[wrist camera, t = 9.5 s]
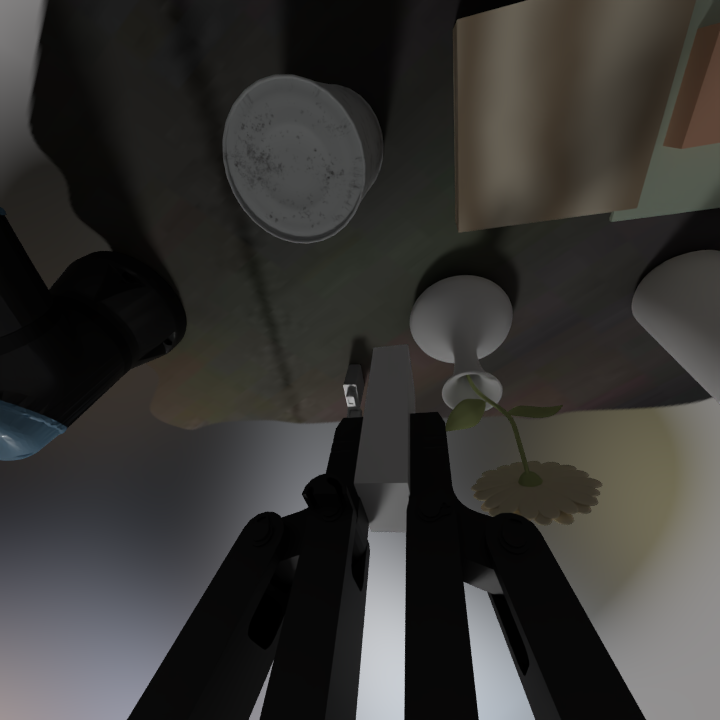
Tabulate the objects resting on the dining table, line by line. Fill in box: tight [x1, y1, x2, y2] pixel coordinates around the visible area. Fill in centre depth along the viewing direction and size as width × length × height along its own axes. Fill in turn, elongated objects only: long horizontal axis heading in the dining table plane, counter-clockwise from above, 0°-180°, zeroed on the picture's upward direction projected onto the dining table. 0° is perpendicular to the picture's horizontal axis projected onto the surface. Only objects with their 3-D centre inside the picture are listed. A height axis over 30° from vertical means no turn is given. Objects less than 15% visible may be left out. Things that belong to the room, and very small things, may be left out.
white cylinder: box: [223, 74, 384, 243], centre depth 27 cm, size 10×10×12 cm
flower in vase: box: [410, 275, 602, 526], centre depth 30 cm, size 13×11×25 cm
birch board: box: [453, 0, 696, 233], centre depth 26 cm, size 14×14×4 cm
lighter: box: [343, 364, 364, 418], centre depth 46 cm, size 7×2×8 cm, turn 9°
